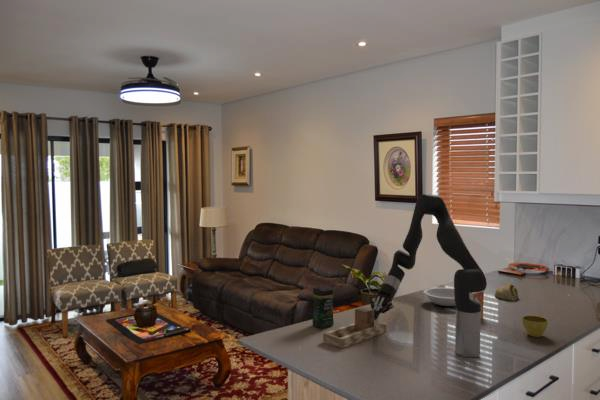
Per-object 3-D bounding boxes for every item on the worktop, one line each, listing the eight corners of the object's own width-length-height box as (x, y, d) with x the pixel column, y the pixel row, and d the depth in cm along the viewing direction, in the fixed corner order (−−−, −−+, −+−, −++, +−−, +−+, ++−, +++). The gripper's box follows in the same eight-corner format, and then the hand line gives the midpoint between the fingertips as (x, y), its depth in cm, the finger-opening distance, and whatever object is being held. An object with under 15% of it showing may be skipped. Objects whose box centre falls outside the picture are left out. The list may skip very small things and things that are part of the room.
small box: (473, 320, 227) (473, 293, 227) (462, 316, 233) (462, 290, 232) (483, 317, 232) (484, 291, 231) (472, 314, 237) (473, 288, 236)
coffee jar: (320, 329, 214) (320, 289, 213) (309, 325, 220) (309, 285, 219) (336, 325, 219) (336, 286, 218) (326, 321, 226) (326, 283, 225)
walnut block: (363, 327, 212) (363, 306, 212) (374, 331, 208) (374, 309, 207) (354, 330, 208) (354, 309, 208) (365, 334, 204) (365, 312, 203)
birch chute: (368, 326, 218) (368, 318, 218) (386, 331, 210) (386, 323, 210) (323, 342, 197) (323, 333, 197) (341, 348, 190) (341, 339, 190)
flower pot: (516, 332, 208) (516, 316, 208) (533, 330, 212) (534, 314, 212) (535, 340, 199) (535, 323, 199) (552, 337, 203) (553, 321, 202)
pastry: (522, 301, 261) (522, 287, 260) (498, 301, 262) (498, 286, 262) (514, 295, 275) (514, 281, 274) (491, 294, 276) (492, 281, 276)
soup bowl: (479, 308, 248) (479, 295, 247) (442, 313, 239) (442, 300, 238) (449, 297, 270) (449, 286, 270) (414, 301, 261) (414, 289, 261)
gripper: (374, 280, 222) (357, 311, 215) (398, 285, 213) (381, 317, 205) (381, 289, 226) (365, 320, 219) (404, 294, 217) (388, 326, 209)
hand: (373, 318), depth 212 cm, fingers closed
